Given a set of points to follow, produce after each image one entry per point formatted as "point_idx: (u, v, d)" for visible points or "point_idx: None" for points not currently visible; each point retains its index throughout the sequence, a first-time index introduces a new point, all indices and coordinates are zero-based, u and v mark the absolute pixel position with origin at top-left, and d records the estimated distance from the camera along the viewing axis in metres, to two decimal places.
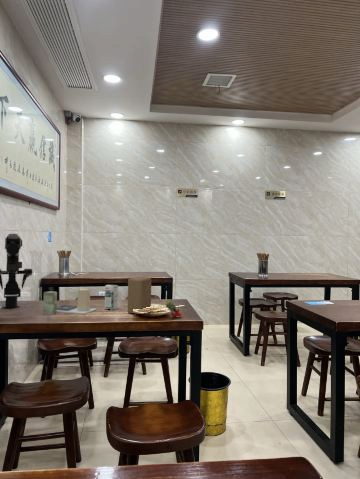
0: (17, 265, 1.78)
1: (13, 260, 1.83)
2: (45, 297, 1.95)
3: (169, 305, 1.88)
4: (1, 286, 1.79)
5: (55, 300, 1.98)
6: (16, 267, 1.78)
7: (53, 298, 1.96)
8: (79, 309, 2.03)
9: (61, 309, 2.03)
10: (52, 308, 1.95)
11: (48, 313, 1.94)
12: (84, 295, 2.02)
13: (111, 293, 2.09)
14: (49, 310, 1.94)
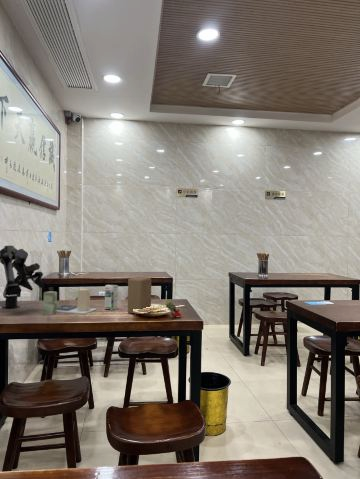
0: (37, 264, 2.01)
1: (25, 266, 2.01)
2: (45, 297, 1.95)
3: (169, 305, 1.88)
4: (31, 287, 1.94)
5: (55, 300, 1.98)
6: (38, 266, 2.01)
7: (53, 298, 1.96)
8: (79, 309, 2.03)
9: (61, 309, 2.03)
10: (52, 308, 1.95)
11: (48, 313, 1.94)
12: (84, 295, 2.02)
13: (111, 293, 2.09)
14: (49, 310, 1.94)
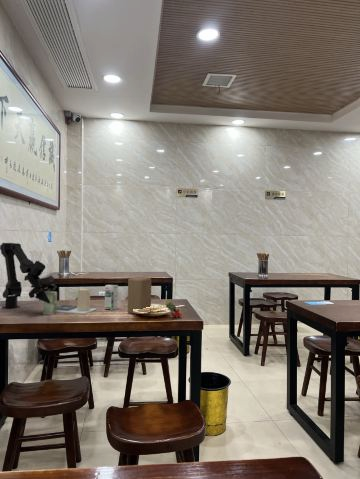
0: (52, 277, 1.99)
1: (40, 279, 1.99)
2: None
3: (169, 305, 1.88)
4: (48, 299, 1.94)
5: (55, 300, 1.97)
6: (52, 278, 1.99)
7: (53, 298, 1.96)
8: (79, 309, 2.03)
9: (61, 309, 2.03)
10: (52, 308, 1.95)
11: (48, 313, 1.94)
12: (84, 295, 2.02)
13: (111, 293, 2.09)
14: (49, 310, 1.94)
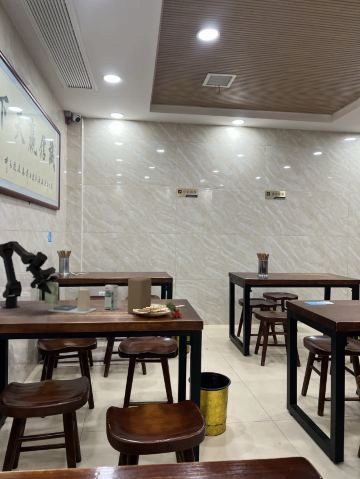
0: (53, 268, 2.00)
1: (41, 270, 2.00)
2: None
3: (169, 305, 1.88)
4: (49, 290, 1.95)
5: (56, 291, 1.98)
6: (54, 270, 2.00)
7: (55, 289, 1.97)
8: (79, 309, 2.03)
9: (61, 309, 2.03)
10: (53, 299, 1.96)
11: (49, 304, 1.95)
12: (84, 295, 2.02)
13: (111, 293, 2.09)
14: (51, 300, 1.95)
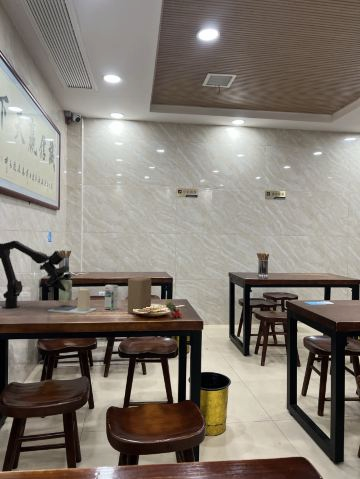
0: (67, 266, 2.10)
1: (56, 268, 2.10)
2: None
3: (169, 305, 1.88)
4: (64, 287, 2.05)
5: (70, 288, 2.09)
6: (67, 268, 2.10)
7: (69, 286, 2.07)
8: (79, 309, 2.03)
9: (61, 309, 2.03)
10: (67, 295, 2.06)
11: (64, 300, 2.05)
12: (84, 295, 2.02)
13: (111, 293, 2.09)
14: (65, 297, 2.05)
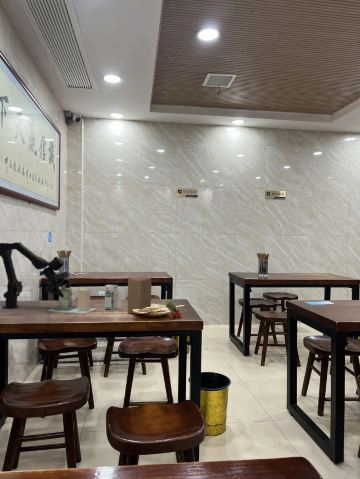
0: (67, 272, 2.10)
1: (56, 274, 2.10)
2: None
3: (169, 305, 1.88)
4: (62, 294, 2.03)
5: (70, 296, 2.09)
6: (67, 274, 2.10)
7: (69, 294, 2.07)
8: (79, 309, 2.03)
9: (61, 309, 2.03)
10: (67, 303, 2.06)
11: None
12: (84, 295, 2.02)
13: (111, 293, 2.09)
14: (65, 305, 2.05)
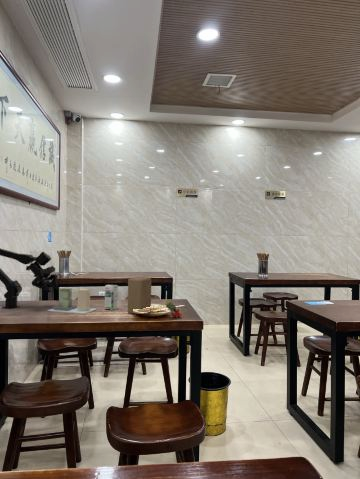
0: (53, 267, 2.13)
1: (42, 269, 2.12)
2: (61, 293, 2.06)
3: (169, 305, 1.88)
4: (48, 288, 2.05)
5: (70, 296, 2.09)
6: (53, 268, 2.12)
7: (69, 294, 2.07)
8: (79, 309, 2.03)
9: (61, 309, 2.03)
10: (67, 303, 2.06)
11: None
12: (84, 295, 2.02)
13: (111, 293, 2.09)
14: (65, 305, 2.05)
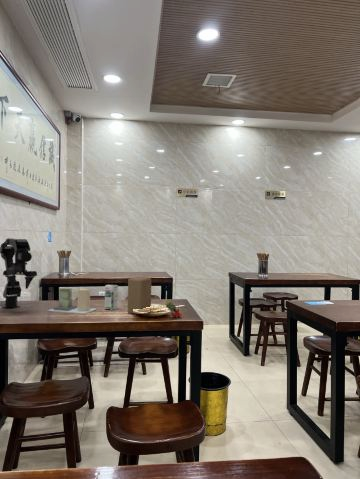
0: (13, 270, 1.94)
1: (17, 263, 1.99)
2: (61, 293, 2.06)
3: (169, 305, 1.88)
4: (11, 285, 2.02)
5: (70, 296, 2.09)
6: (12, 272, 1.94)
7: (69, 294, 2.07)
8: (79, 309, 2.03)
9: (61, 309, 2.03)
10: (67, 303, 2.06)
11: None
12: (84, 295, 2.02)
13: (111, 293, 2.09)
14: (65, 305, 2.05)
